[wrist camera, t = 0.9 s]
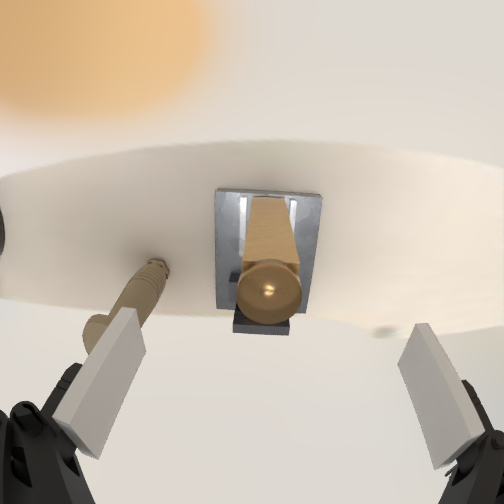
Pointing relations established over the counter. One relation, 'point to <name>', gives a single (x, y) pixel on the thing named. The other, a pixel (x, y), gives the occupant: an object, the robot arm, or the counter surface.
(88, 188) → the counter surface
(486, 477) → the robot arm
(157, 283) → the handle
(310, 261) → the slotted metal plate
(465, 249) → the counter surface
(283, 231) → the lever
